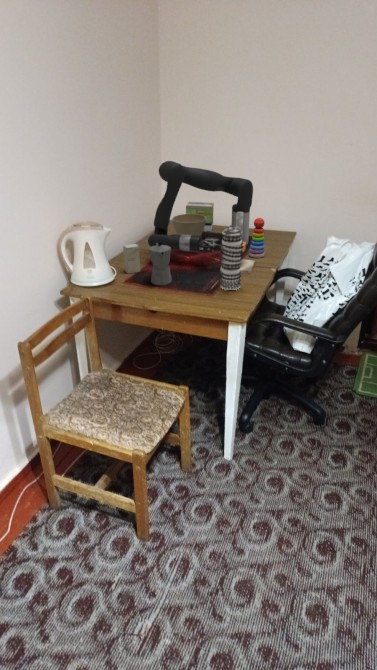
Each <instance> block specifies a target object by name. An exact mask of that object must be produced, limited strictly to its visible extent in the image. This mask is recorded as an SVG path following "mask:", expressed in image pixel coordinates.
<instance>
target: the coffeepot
mask: <svg viewBox="0 0 377 670" xmlns="http://www.w3.org/2000/svg"><path fill="white" fill-rule="evenodd" d="M161 243H162V242H161V241H158V242H156V243H155V246H151V247H150V246H149V249H148V251H149V256H150V261H151V264H152V268H151V269H152V270H151V279H150V282H151V283H152V284H153V285H155V286H166V285H169V284H171V283H172V281H173V277H172V275H171V268H170V265H169V263H170V259H171V251H172V249H171V247H169V246H167V245H161Z"/></svg>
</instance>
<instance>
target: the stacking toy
mask: <svg viewBox="0 0 377 670" xmlns="http://www.w3.org/2000/svg"><path fill="white" fill-rule="evenodd" d="M265 224H266V223H265V220H264V219H263V218H262V217H256V219H254V221H253V227H254V228H253V232H252V233H251V234H252V237H251V241H250V245H249V248H248V249H249V252H248V256H249V257H250V258H255V259H260V258H264V257H265V255H266V254H265V236H264V235H265V234H264V231H265V230H264V226H265Z"/></svg>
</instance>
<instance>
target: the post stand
mask: <svg viewBox="0 0 377 670" xmlns="http://www.w3.org/2000/svg"><path fill="white" fill-rule="evenodd" d="M236 228H239V229H240V231H242V235H243V212H237V216H236ZM241 239H242V238H241ZM241 254H242V255H243V252H242V253H241ZM240 258H241V259H242V257H240ZM255 264H256V260H254V259H253V260H252V259H242V261H241V262H240V267H241V270H240V271H241V274H245V275H247V274H248V275H251V274H252V271H253V269H254V267H255ZM221 267H222V265H221V266H220V268H219V272H221Z"/></svg>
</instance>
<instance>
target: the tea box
mask: <svg viewBox="0 0 377 670" xmlns="http://www.w3.org/2000/svg"><path fill="white" fill-rule="evenodd" d="M185 214H199V215H203V216H205V217H206V223H205V227H204V230H203V232H207V231H210V232H209V233H211V232H212V229H213V228H214V202H201V201H199V202H198V201H188V203H187V204H186V205H185Z"/></svg>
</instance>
